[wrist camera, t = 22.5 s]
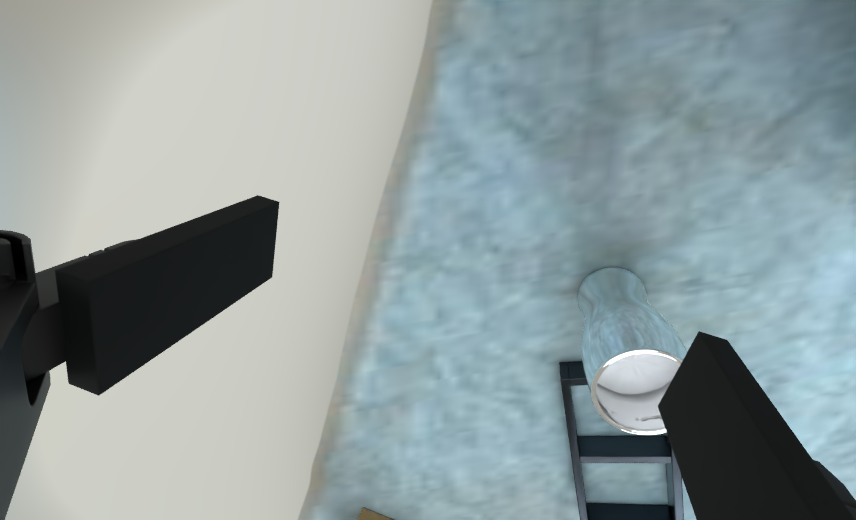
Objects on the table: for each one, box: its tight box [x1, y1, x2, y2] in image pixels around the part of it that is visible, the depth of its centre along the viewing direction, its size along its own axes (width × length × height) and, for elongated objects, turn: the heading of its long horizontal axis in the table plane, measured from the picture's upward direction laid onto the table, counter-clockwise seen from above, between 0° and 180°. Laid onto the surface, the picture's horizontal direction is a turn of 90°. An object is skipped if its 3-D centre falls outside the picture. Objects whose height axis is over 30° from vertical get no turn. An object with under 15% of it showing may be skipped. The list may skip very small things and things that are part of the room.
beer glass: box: [577, 267, 687, 435], centre depth 36 cm, size 7×7×15 cm
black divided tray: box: [559, 361, 684, 520], centre depth 46 cm, size 10×19×3 cm, turn 12°
